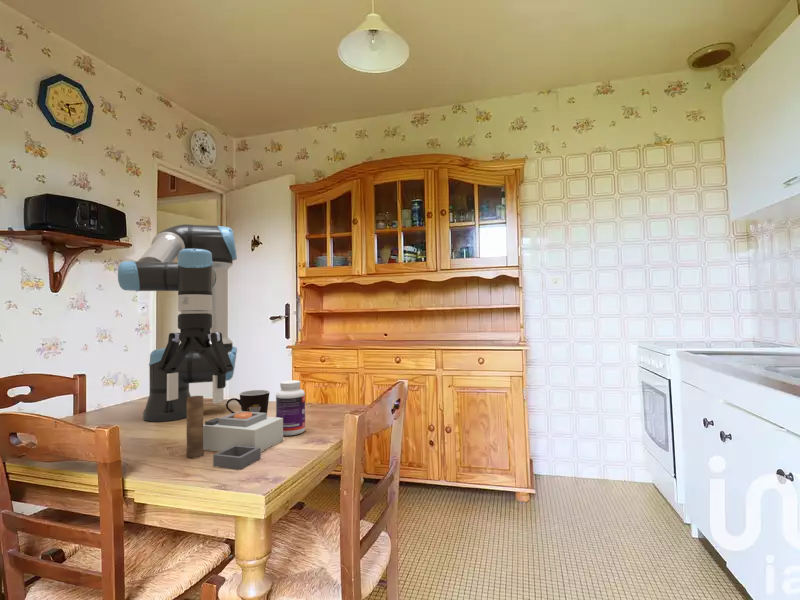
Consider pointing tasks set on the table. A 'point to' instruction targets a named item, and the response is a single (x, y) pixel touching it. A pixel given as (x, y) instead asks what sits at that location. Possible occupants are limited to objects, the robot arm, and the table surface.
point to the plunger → (243, 415)
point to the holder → (236, 457)
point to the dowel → (194, 426)
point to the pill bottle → (291, 407)
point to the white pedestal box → (242, 432)
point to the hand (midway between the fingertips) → (194, 401)
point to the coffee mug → (252, 401)
